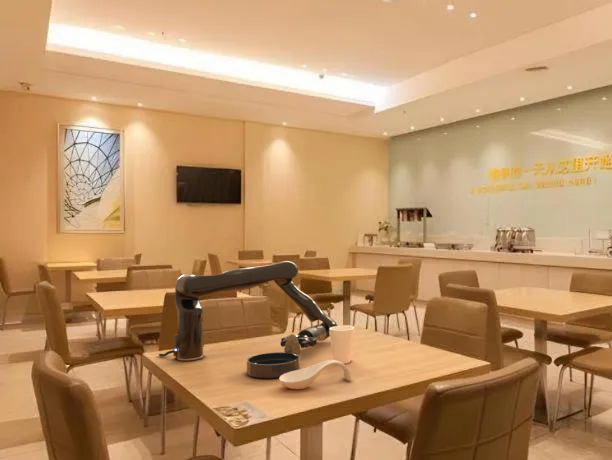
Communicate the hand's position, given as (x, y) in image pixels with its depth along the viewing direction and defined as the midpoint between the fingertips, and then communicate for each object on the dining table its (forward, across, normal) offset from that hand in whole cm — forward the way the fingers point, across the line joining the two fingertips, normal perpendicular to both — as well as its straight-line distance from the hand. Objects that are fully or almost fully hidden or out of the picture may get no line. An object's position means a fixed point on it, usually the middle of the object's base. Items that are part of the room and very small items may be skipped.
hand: (291, 344), depth 207 cm
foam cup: (-2, +20, +6) cm, 21 cm away
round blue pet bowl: (+18, +2, +6) cm, 19 cm away
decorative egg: (0, 0, +6) cm, 6 cm away
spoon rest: (+28, +23, +6) cm, 36 cm away
